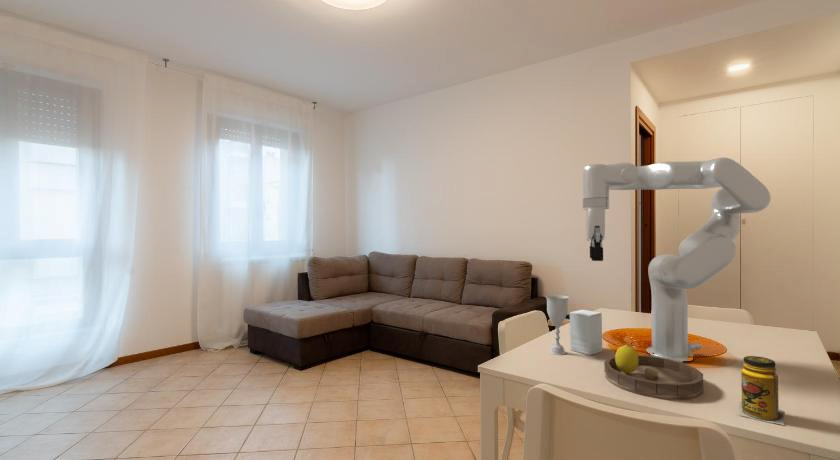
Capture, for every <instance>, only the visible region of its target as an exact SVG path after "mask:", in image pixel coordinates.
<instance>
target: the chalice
mask: <svg viewBox="0 0 840 460" xmlns="http://www.w3.org/2000/svg"><path fill="white" fill-rule="evenodd" d="M544 297H545V298H546V312H547V315H548V317H549V319H550V321H551V324H552V325H553V326H555V330H554V334H555V336H554V338H555V343H554V344H552V345H551V347H550V350H549V354H552V355H557V356H562V355H566V351H565V347H564V346H563V345H562V344H561V343H560V339H561V336H560V332H561V331H560V326H562V325H563V324H564V321H565V320H566V318H567V315H568V300H569V298H570V297H569V296H567V295H562V294H549V295H548V294H547V295H545V296H544Z"/></svg>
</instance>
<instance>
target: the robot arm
mask: <svg viewBox="0 0 840 460" xmlns="http://www.w3.org/2000/svg"><path fill="white" fill-rule="evenodd" d="M712 188H720V189H718V190H717V191H716V192H715V193H714V194H713V196H712V198H711V202H710V203H711V216H710V218H709V220H708V221H706V222H705V223H704V224H703V225H702V226H701V227H698V229H696V230H695V231H694V232H692V233H691V234H690V235H688V236H687V237H685V238H684V239H683V240H682V241H681V242H680V244H679V246H678V253H679V255H678V254H670V253H669V254H668V253H667V254H665V253H664V254H659V255H657V256H655V257H654V258H652V259H651V261H649V264H648V269H647V270H648V273H647V274H648V279H649V280H648V281H649V284H650V290H651V292H650V293H651V346H649V347H646V351H647V352H648V353H650V354H651V355H652V356H654V357H661V358H666V359H670V360H675V361H680V362H682V363H684V362H683V361H688V359H689V358H687V357H688V356H694V357H695V355H694V353H692V351H698V350H702V344H701V343H699V342H697V343H696V342H695V343H691V342H689V341H688V340H689V339H688V338H689V336H688V335H689V334H688V332H689V329H688V327H689V326H688V325H689V324H688V323H689V322H688V318H689V317H688V315H689V314H688V311H689V310H688V308H689V307H688V306H689V305H688V303H689V302H688V295H687V292H686V291H687V290H694V289H697V288H700V287H701V286H702V285H705V283H707V282H708V281H710V280H711V279H713V278H714V277H715V276H716V275H718V274H719V273H721V272H722V271H723V270H724V269H725V268H727V267H728V266H729V265H730V264H731V263H732V262H733V260H734V259H735V257H736V253H737V246H736V244H735V242H734V239H736V238H737V236H738V235H739V232H740V230H741V217H740V214H753V213H758V212H762V211H764V210H765V209H766V208H767V207H768V206H769V205H770V203H771V194H770V191H769V189H768V187H767V186H766V185H765V184H764V183H762V181H760V179H758V178H757V177H755V175H753V174H752V173H751V172H749V170H748V169H746V168H745V167H744V166H743V165H742V164H740V163H738V162H737V161H735V160H734V159H732V158H729V157H724V156H723V157H718V158H713V159H712V158H711V159H709V160H702V161H701V160H698V161H697V160H695V161H663V162H656V163H652V164H649V165H647V164H646V165H641V166H636V165H635V164H633V163H630V162H619V163H613V164H612V163H611V164H602V163H597V164H596V163H593V164H589V165H586V166H584V167H583V168H582V210H584V211H586V215H585V232H586V233H585V240H587V241H589V242H590V245H589V258H590V259H591V261H592V262H603V261H604V247H603V241H604V240H605V237H606V236H605V234H606V233H605V232H606V210H610V191H637V190H638V191H639V190H653V191H655V190H656V191H657V190H706V189H707V190H708V189H712ZM646 351H645V352H646ZM653 353H654V354H653Z"/></svg>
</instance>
